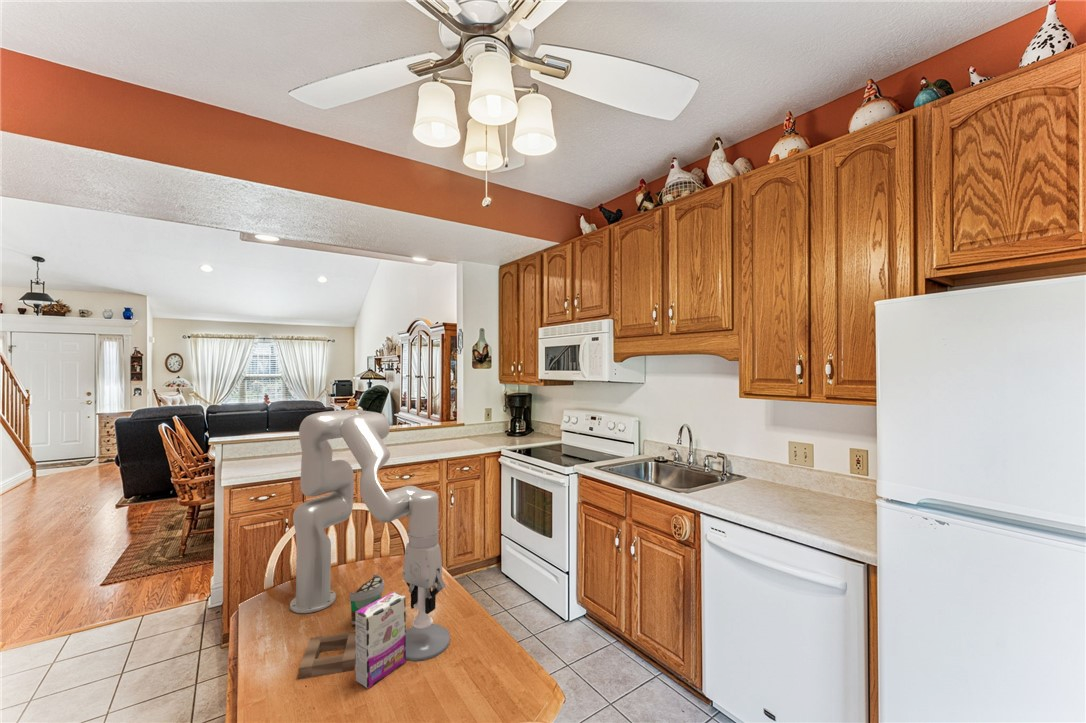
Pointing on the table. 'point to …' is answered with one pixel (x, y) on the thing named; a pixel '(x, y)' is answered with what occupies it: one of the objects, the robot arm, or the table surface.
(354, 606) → the food container
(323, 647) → the walnut socket
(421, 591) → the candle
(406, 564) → the robot arm
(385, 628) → the candy bar box
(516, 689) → the table surface
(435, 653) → the slate plate
